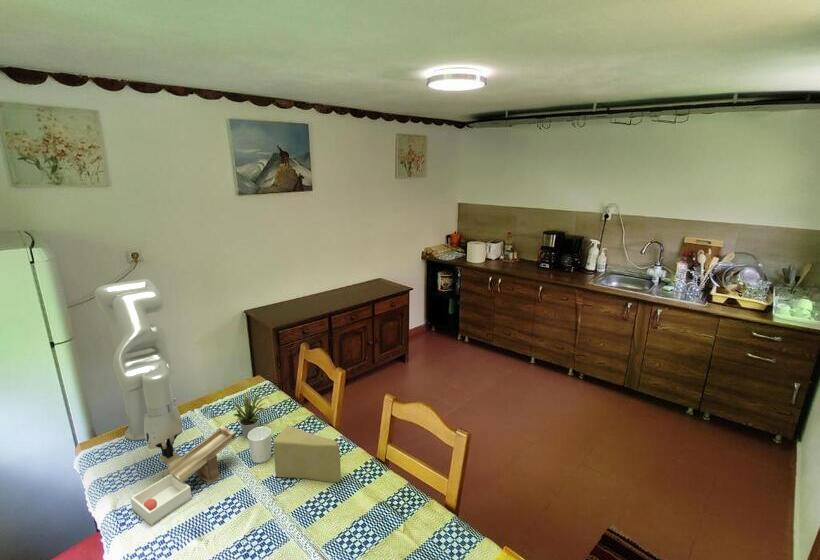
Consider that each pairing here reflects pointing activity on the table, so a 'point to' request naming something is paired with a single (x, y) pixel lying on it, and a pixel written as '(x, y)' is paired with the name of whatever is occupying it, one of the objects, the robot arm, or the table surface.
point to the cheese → (306, 456)
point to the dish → (161, 498)
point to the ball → (150, 504)
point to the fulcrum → (209, 470)
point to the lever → (198, 454)
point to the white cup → (260, 444)
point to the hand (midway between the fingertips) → (168, 455)
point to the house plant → (248, 415)
